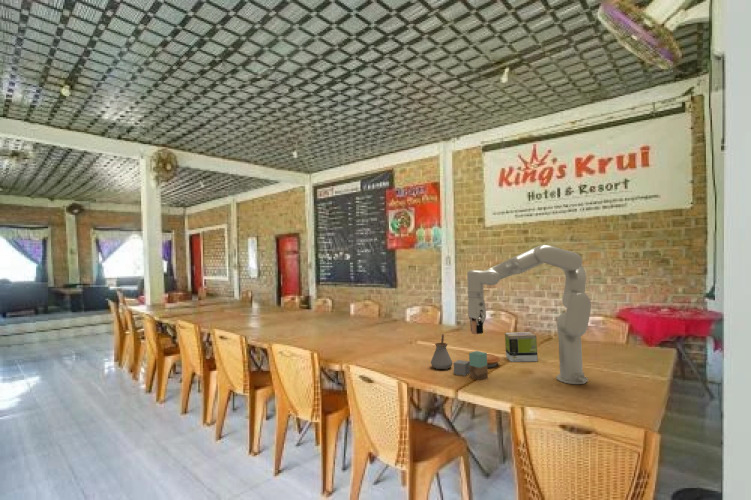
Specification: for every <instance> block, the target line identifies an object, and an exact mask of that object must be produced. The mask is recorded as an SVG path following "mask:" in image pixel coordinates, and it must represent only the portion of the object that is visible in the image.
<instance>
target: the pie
mask: <svg viewBox="0 0 751 500" xmlns="http://www.w3.org/2000/svg"><path fill="white" fill-rule="evenodd" d="M500 361H501V359H500V357H498V356H497V355H495V354H491V353H487V369H490V368H491V369H492V368H495V367H496V366H497V365H498V363H499V362H500Z"/></svg>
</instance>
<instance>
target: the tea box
mask: <svg viewBox="0 0 751 500" xmlns="http://www.w3.org/2000/svg"><path fill="white" fill-rule="evenodd" d="M504 344H505V356H506V359H507V360H508V361H509V362H511V363H513V362H515V363H516V362H517V363H518V362H538V360H539V359H538V344H537V335H536V334H534V333H533V332H531V331H524V332H521V331H520V332H517V331H516V332H515V331H514V332H504Z"/></svg>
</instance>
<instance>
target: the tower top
mask: <svg viewBox="0 0 751 500" xmlns="http://www.w3.org/2000/svg"><path fill="white" fill-rule="evenodd" d="M487 354H488V353H487V352H483V351H480V350H475V351H471V352H469V353H468V355H469V356H468V358H469V360H468V361H469V364H470V366H474V367H478V368H481V367H484V366H487Z"/></svg>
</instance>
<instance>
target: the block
mask: <svg viewBox="0 0 751 500" xmlns="http://www.w3.org/2000/svg"><path fill="white" fill-rule="evenodd" d="M454 374H456V375H455V376H460V375H463V376H462V377H467V376H468V375H470V364H469V360H461V359H457V360H456V361H454V362H453V375H454ZM467 374H468V375H467ZM466 375H467V376H466Z"/></svg>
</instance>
